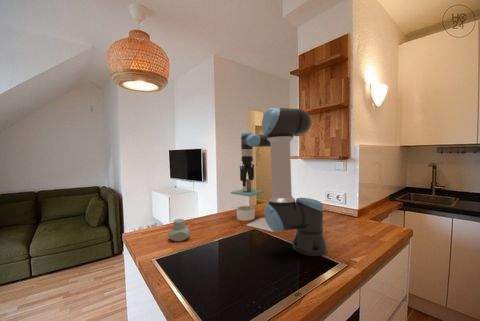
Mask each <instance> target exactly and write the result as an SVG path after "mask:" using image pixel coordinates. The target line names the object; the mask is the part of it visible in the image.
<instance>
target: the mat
mask: <svg viewBox="0 0 480 321" xmlns="http://www.w3.org/2000/svg"><path fill="white" fill-rule="evenodd" d="M246 226H247V227H253V228H256V229H261V230H265V231H269V232H274V231H273V230H271V229H270V228H269V226H268V224H267V222H266V219H265V216H264V217H263V216H261V217H260V218H257V219H254V220H253V221H251V222H249V223H247V224H246Z"/></svg>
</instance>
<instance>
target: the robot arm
mask: <svg viewBox="0 0 480 321" xmlns="http://www.w3.org/2000/svg"><path fill="white" fill-rule="evenodd" d="M262 116H263V117H262V119H261V120H262V121H261V132H262V134H255V133H252V132H248V131H246V132H242V133H241V134H240V136H241V137H240V140H241V141H240V142H241V144H240V145H241V146H240V147H241V149H240V150H241V162H242V163H241V164H242V165H239V173H240V174H239V176H240V177H239V180H240V182H242V189H243V191H247V181H246V179H251V190H252V189H253V187H252V186H253V181H254V179H255V164H253V163H252V162H254V158H253V157H254V156H253V154H254V153H253V152H254V150H253V148H256V147H257V148H259V147H260V148H261V147H263V148H264V147H267V148H268V147H269V148H270V170H271V171H270V173H271V175H270V176H271V197H270V198H269V199H268V204H266V205H265V206H264V210H263V212H264V213H263V214H264V218H265V219H266V222H267V224H268V226H269V228H270V229H271V230H273V232H284V231H292V230H296V232H295V234H294V238H293V240H292V248H293V250H294V251H295V252H296V253H299V254H301V255H303V256H308V257H321V256H323V255H325V254H326V253H328V245H327V242H326V239H325V236H324V231H323V230H324V229H323V228H324V218H323V217H324V209H323V208H324V207H323V203H322V202H321V201H319V199H313V198H308V197H297V198H296V199H295V197H293V195H292V194H293V193H292V191H293V190H292V168H291V167H292V166H291V165H292V164H291V141H292V140H293V139H294V137H301V136H302V135H303V136H304V134H306V133H307V132H308V131H309V130H310V129H311V127H312V118H311V115H310V114H309V112H307V111H305V110H304V109H302V108H291V107H290V108H286V107H271V108H267V110H266V111H265V112H264V114H263V115H262Z"/></svg>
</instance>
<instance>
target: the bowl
mask: <svg viewBox="0 0 480 321" xmlns="http://www.w3.org/2000/svg"><path fill="white" fill-rule="evenodd" d="M255 212H256V211H255V207H254V206H253V205H252V206H251V205H241V206H237V207H236V219H237V220H238V221H243V222H246V221H247V222H248V221H249V222H250V221H252V220H253V221H254V220H255V218H256V217H255V216H256V215H255Z"/></svg>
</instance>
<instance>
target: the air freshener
mask: <svg viewBox="0 0 480 321" xmlns="http://www.w3.org/2000/svg"><path fill="white" fill-rule="evenodd" d="M172 222H173V228H172V229H170V231H169V232H168V238H169V239H171V240H172V241H173V242H183V241H185V240H187V239H188V238H189V236H190V235H191V230H190V229H189V227H187V226H186V220H185V219H183V218H178V219H174V220H173V221H172Z"/></svg>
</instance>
